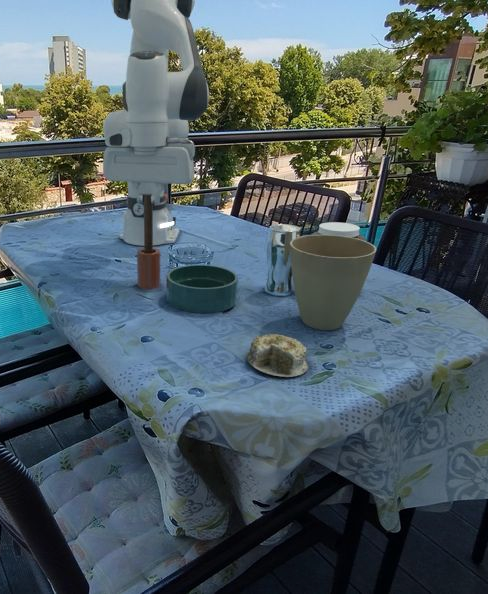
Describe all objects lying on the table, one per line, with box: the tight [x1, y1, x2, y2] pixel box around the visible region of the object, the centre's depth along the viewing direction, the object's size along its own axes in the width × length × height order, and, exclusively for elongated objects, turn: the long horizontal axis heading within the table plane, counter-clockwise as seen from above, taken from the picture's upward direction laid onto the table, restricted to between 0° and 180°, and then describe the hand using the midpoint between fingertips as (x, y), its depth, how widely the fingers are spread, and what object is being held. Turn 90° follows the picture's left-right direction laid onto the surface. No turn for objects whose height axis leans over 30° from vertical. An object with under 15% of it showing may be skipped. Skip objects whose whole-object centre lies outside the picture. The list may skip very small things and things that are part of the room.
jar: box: [310, 221, 367, 242], centre depth 105 cm, size 12×12×15 cm
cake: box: [246, 333, 309, 378], centre depth 77 cm, size 10×10×5 cm
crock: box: [136, 247, 161, 290], centre depth 109 cm, size 5×5×9 cm
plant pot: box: [290, 234, 377, 331], centre depth 89 cm, size 15×15×16 cm
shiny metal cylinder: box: [264, 223, 301, 297], centre depth 104 cm, size 7×7×15 cm
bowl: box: [166, 264, 239, 314], centre depth 101 cm, size 15×15×6 cm
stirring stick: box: [143, 194, 154, 253], centre depth 105 cm, size 2×2×14 cm
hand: (148, 202), depth 103 cm, fingers closed on stirring stick, 2 cm apart
